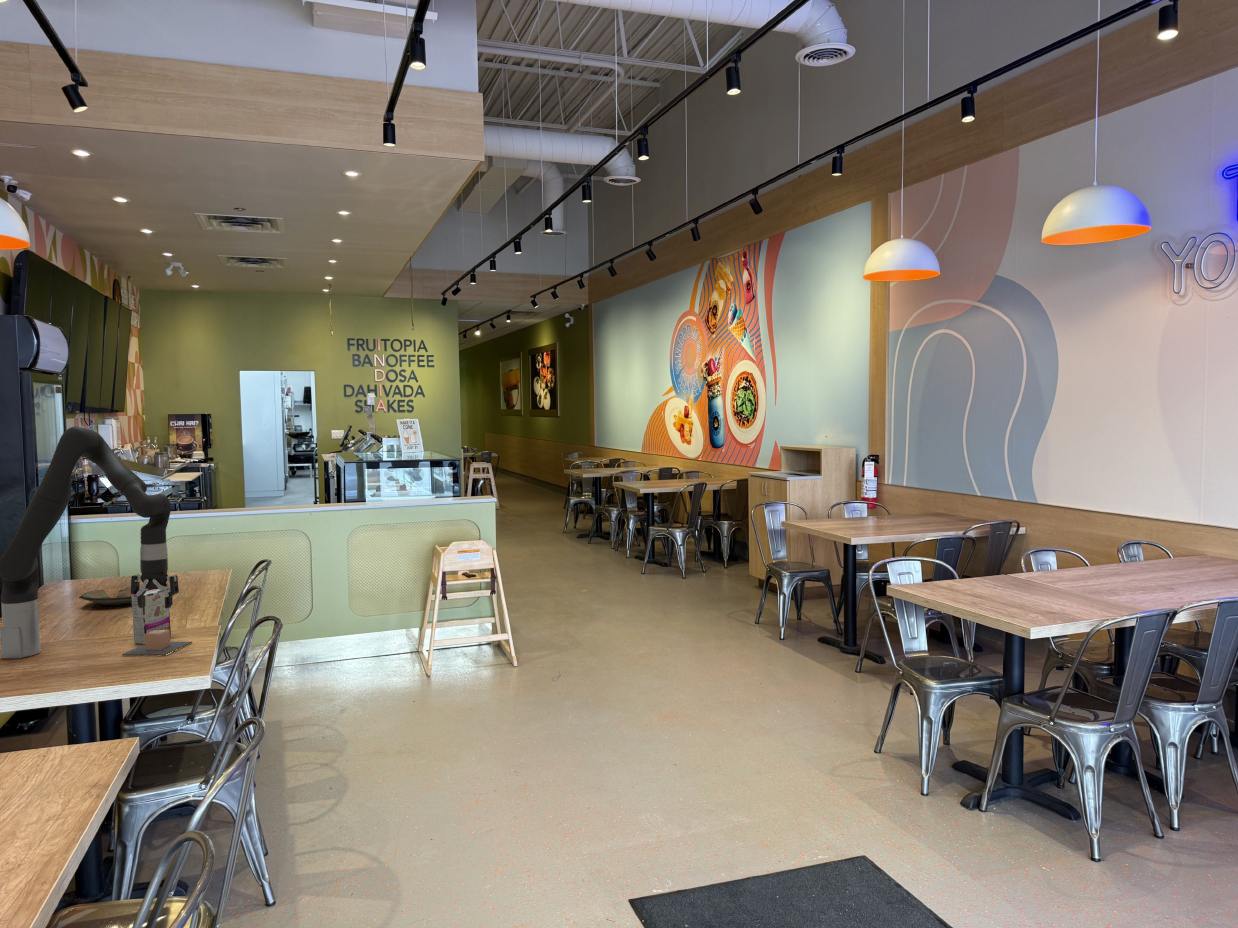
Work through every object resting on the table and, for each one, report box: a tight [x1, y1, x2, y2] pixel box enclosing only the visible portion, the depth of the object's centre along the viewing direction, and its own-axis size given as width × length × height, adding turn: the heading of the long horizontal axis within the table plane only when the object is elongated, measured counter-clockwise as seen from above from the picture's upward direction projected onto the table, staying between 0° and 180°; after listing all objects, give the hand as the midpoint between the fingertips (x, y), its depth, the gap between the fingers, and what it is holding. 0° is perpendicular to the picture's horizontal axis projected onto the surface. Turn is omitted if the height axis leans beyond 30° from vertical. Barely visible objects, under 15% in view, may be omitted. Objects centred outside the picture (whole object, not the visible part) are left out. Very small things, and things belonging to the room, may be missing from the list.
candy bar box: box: [131, 589, 172, 645], centre depth 264 cm, size 11×5×16 cm, turn 168°
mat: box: [121, 641, 193, 656], centre depth 253 cm, size 14×14×1 cm
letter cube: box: [145, 630, 171, 650], centre depth 253 cm, size 5×5×5 cm
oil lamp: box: [78, 587, 153, 606], centre depth 319 cm, size 22×30×8 cm
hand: (155, 607), depth 252 cm, fingers open, 8 cm apart
